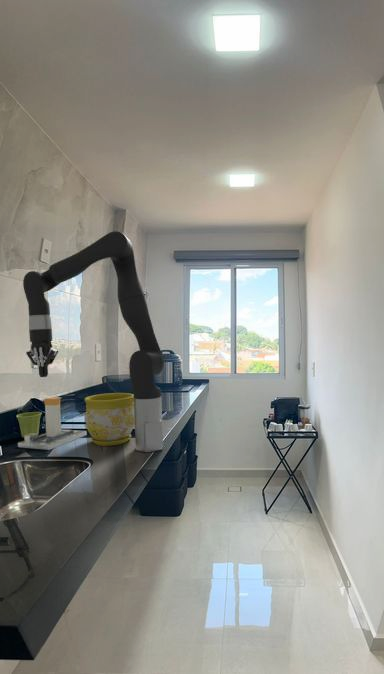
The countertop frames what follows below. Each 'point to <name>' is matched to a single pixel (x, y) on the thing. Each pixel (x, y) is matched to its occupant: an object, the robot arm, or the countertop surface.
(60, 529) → the countertop surface
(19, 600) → the countertop surface
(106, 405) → the flowerpot
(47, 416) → the white bottle
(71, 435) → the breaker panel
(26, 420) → the plant pot
